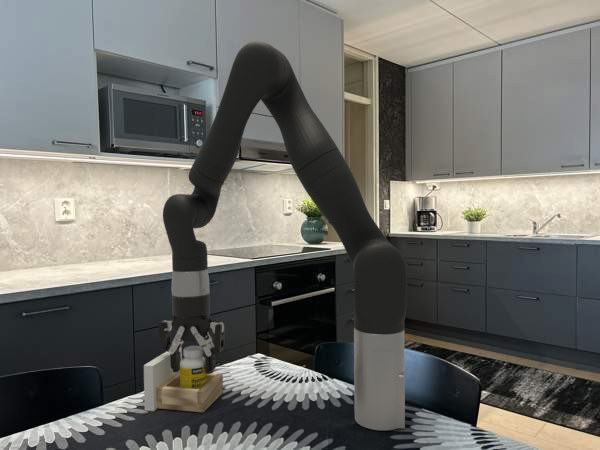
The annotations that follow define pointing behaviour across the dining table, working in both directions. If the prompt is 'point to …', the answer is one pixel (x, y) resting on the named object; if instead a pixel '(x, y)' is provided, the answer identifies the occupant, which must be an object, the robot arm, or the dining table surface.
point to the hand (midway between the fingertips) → (193, 371)
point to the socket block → (189, 394)
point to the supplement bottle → (193, 368)
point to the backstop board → (156, 378)
